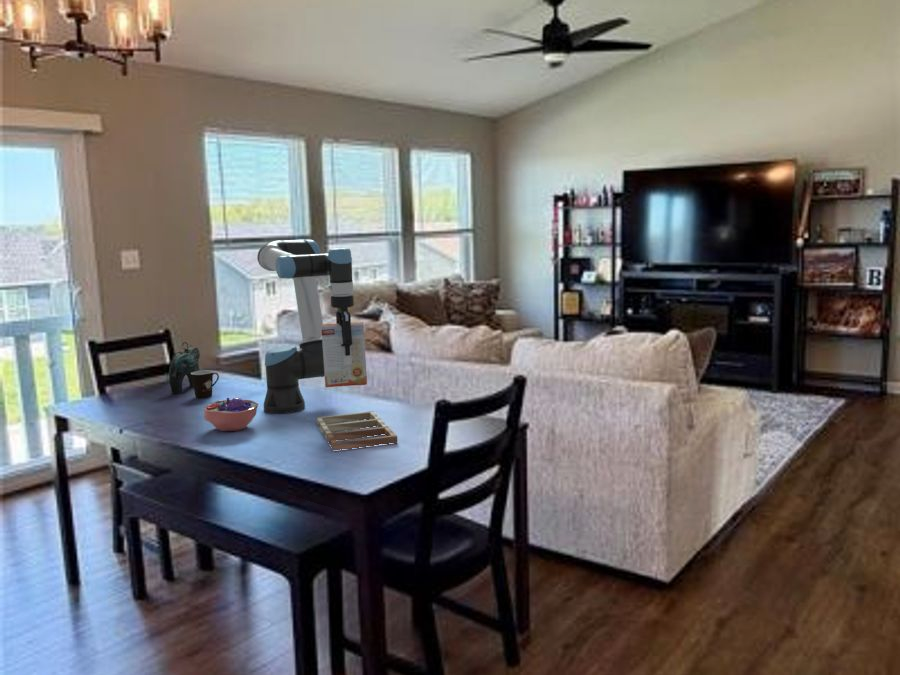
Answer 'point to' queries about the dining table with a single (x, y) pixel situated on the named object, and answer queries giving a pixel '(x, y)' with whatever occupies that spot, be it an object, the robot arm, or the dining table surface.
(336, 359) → the cracker box
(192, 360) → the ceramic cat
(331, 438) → the rail
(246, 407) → the cell model
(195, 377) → the coffee mug
